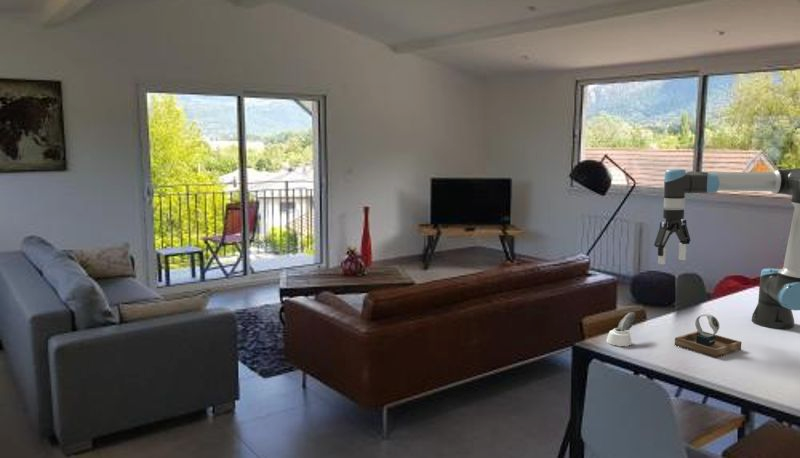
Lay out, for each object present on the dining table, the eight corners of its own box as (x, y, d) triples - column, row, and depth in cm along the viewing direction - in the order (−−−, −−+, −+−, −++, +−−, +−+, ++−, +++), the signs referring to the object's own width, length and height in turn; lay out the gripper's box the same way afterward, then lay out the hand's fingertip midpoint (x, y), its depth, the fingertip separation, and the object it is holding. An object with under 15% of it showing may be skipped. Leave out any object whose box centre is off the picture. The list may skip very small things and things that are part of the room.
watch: (713, 348, 226) (715, 318, 224) (691, 342, 232) (693, 314, 230) (720, 344, 229) (722, 316, 228) (698, 339, 235) (700, 311, 234)
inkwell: (601, 343, 234) (603, 317, 233) (620, 331, 248) (622, 307, 246) (626, 348, 228) (627, 322, 227) (644, 336, 242) (645, 311, 240)
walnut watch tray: (699, 337, 240) (699, 330, 240) (740, 349, 227) (741, 341, 227) (674, 345, 231) (675, 337, 231) (716, 358, 218) (716, 350, 218)
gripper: (683, 205, 255) (682, 256, 258) (645, 210, 242) (644, 264, 245) (701, 207, 249) (699, 259, 252) (662, 211, 235) (661, 267, 238)
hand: (672, 261), depth 248 cm, fingers open, 13 cm apart
